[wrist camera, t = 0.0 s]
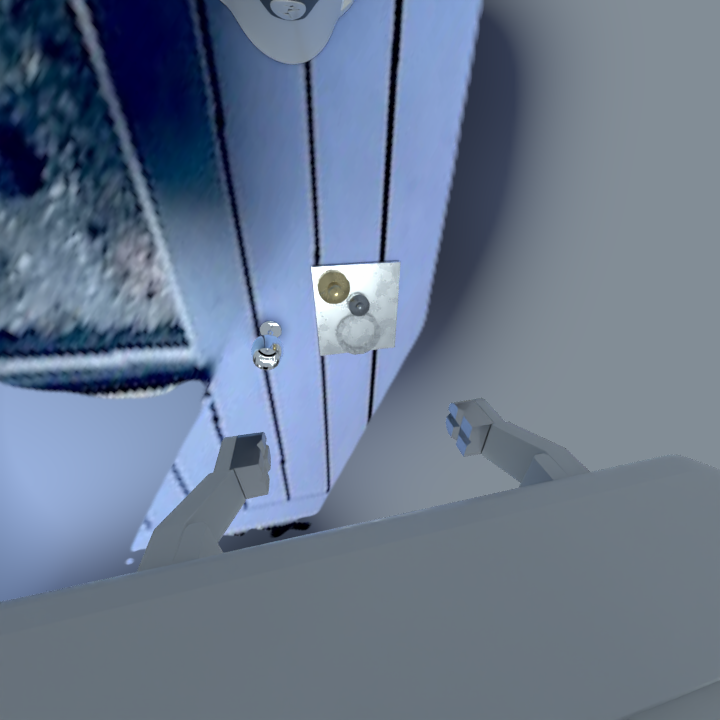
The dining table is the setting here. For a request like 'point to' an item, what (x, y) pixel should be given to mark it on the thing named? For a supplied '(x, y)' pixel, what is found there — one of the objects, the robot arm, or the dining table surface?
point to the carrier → (359, 308)
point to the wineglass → (267, 346)
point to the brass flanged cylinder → (333, 287)
